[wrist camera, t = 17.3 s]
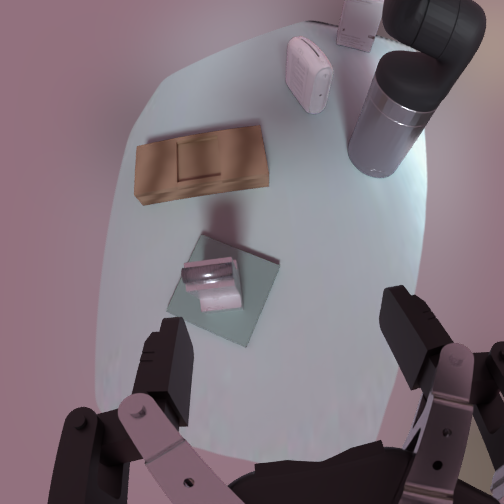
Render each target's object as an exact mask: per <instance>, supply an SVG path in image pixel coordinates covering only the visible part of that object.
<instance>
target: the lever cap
mask: <svg viewBox="0 0 504 504" xmlns="http://www.w3.org/2000/svg"><path fill="white" fill-rule="evenodd" d="M181 274H182V280H183V283H184V284H186V292H188V293H190V294H191V295H193V296H195V297H196V298H198V299H200V305H201V312H203V313H205V314H214V313H223V312H231V311H240V310H244V307H243V299H242V291H241V283H240V274H239V266H238V264H237V261H236V260H233V259H232V257H226V258H218V259H211V260H203V261H195V262H188V263H184V268H182V271H181Z"/></svg>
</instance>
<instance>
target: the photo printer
mask: <svg viewBox="0 0 504 504" xmlns="http://www.w3.org/2000/svg"><path fill="white" fill-rule="evenodd" d="M333 73H334V71H333V68H332V65H331V63H330V62H329V60H328V58H327V57H326V56H325V54H324V53H323V52H322V51H321V49H320V48H319V47H318V46H317V45H316V44H314V43H313V42H312V41H310V40H309V39H307V38H305V37H302V36H299V37H293V38H292V39H291V40H290V41H289V43H288V49H287V65H286V83H287V85H288V87H289V89H290V90H291V91H292V93H293V94H294V96H295V97H296V99H297V100H298V101H299V103H300V104H301V106H302V107H303V108H304V109H305V111H306V112H308V113H311V114H318V113H320V112H322V110H323V109H325V107H326V103H327V99H328V95H329V91H330V86H331V82H332V78H333Z"/></svg>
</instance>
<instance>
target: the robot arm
mask: <svg viewBox="0 0 504 504" xmlns="http://www.w3.org/2000/svg"><path fill="white" fill-rule="evenodd" d="M382 20H383V25H384V28H385V30H386V32H387V33H388V34H389V35H390V36H391V37H393V38H394V39H396V40H398V41H399V42H401V43H403V44H405V45H407V46H410V47H412V48H414V49H416V50H418V51H420V52H411V51H391V52H388V53H386V54H385V55H383V56H382V58H381V59H380V61H379V63H378V66H377V69H376V72H375V75H374V78H373V80H372V83H371V86H370V89H369V92H368V95H367V97H366V100H365V103H364V106H363V108H362V111H361V114H360V116H359V119H358V122H357V124H356V127H355V129H354V132H353V134H352V137H351V140H350V142H349V145H348V154H349V157H350V159H351V161H352V163H353V164H354V165H355V166H356V168H357V169H359V170H360V171H361V172H363V173H364V174H366V175H368V176H371V177H376V178H384V177H388V176H390V175H391V174H393V173H394V172H395V171H396V169H397V168H398V166H399V165H400V163H401V162H402V160H403V159H404V158H405V156H406V155H407V153H408V152H409V150H410V149H411V147H412V146H413V144H414V143H415V141H416V140H417V138H418V137H419V135H420V134H421V132H422V131H423V129H424V128H425V126H426V125H427V123H428V121H429V120H430V118H431V117H432V115H433V113H434V112H435V110H436V109H437V107H438V106H439V104H440V103H441V101H442V100H443V99H444V98H445V97H446V96H447V94H448V93H449V91H450V90H451V88H452V86H453V85H454V83H455V82H456V81H457V79H458V78H459V76H460V75H461V74H462V72H463V71H464V69H465V68H466V67H467V65H468V64H469V63H470V61H471V60H472V58H473V56H474V55H475V53H476V52H477V50H478V48H479V46H480V44H481V42H482V39H483V37H484V33H485V29H486V16H485V13H484V11H483V9H482V8H481V7H480V6H479V5H478V4H477V3H476V2H474V1H472V0H384V4H383V11H382ZM379 324H380V328H381V331H382V333H383V335H384V337H385V339H386V341H387V343H388V345H389V347H390V349H391V351H392V353H393V355H394V357H395V359H396V361H397V363H398V365H399V367H400V369H401V371H402V373H403V375H404V377H405V379H406V381H407V383H408V385H409V387H410V389H411V390H414V389H417V388H421V390H422V392H423V393H422V395H421V397H420V401H419V404H418V407H417V410H416V414H415V417H414V420H413V423H412V426H411V429H410V432H409V434H408V437H407V439H406V441H405V443H404V445H403V447H402V449H401V448H395V447H383V444H382V441H381V440H379V441H375V442H372V443H368V444H364V445H361V446H357V447H353V448H350V449H348V450H346V451H344V452H342V453H340V454H338V455H336V456H334V457H331V458H329V459H327V460H325V461H321V462H309V461H292V460H284V461H276V462H268V463H259V464H255V471H253V472H250V473H248V474H246V475H243V476H241V477H240V478H238V479H236V480H235V481H233V482H232V483H230V484H229V485H228V486H227V485H226V484H224V482H223V481H222V480H221V479H220V478H219V477H218V476H217V475H216V474H215V473H214V472H213V471H212V469H211V468H210V467H209V466H208V465H207V464H206V463H205V462H204V461H203V459H201V457H200V456H199V455H198V454H197V452H195V450H194V449H193V448H192V447H191V445H190V444H189V443H188V442H187V441H186V440H185V439H184V438H183V437H182V436H181V435H180V433H179V427H184V426H188V419H189V406H190V394H191V383H192V372H193V361H194V352H193V346H192V342H191V339H190V336H189V334H188V331H187V328H186V325H185V322H184V319H183V317H173V318H164V319H163V320H162V323H161V327H160V332H152V333H151V334H150V336H149V337H148V338H147V340H146V341H145V343H144V347H143V351H142V355H141V359H140V363H139V366H138V370H137V375H136V379H135V383H134V387H133V391H132V395H130V396H128V397H126V398H125V399H124V400H123V401H122V402H121V404H120V405H119V408H118V409H115V410H112V411H108V412H104V413H100V414H96V413H95V412H94V411H93V410H92V409H90V408H87V407H80V408H77V409H74V410H73V411H71V412H70V413H69V415H68V416H67V418H66V419H65V423H64V426H63V430H62V434H61V439H60V442H59V447H58V451H57V455H56V461H55V465H54V470H53V475H52V480H51V486H50V492H49V498H48V504H127V494H128V480H129V467H130V462H131V461H136V460H139V459H144V460H145V465H146V467H147V469H148V470H149V472H150V473H151V474H152V476H153V477H154V479H155V480H156V482H157V483H158V485H159V486H160V487H161V489H162V490H163V491H164V493H165V494H166V495H167V497H168V498H169V499H170V501H171V502H172V503H173V504H504V402H503V400H502V398H501V396H500V394H499V392H500V391H501V393H502V395H503V397H504V342H497V343H495V344H494V345H493V346H492V348H491V350H490V352H482V353H472V352H471V350H470V349H469V348H468V347H466V346H464V345H462V344H459V343H454V342H453V341H452V339H451V338H450V336H449V335H448V333H447V332H446V331H445V329H444V328H443V326H442V325H441V323H440V322H439V321H438V319H436V317H435V315H434V314H433V312H431V309H430V308H429V307H428V305H427V304H426V302H424V301H423V300H422V299H420V298H419V297H418V296H416V295H412V296H411V295H410V294H409V292H408V291H407V289H406V288H405V287H404V286H403V285H399V286H394V287H388V288H385V289H384V292H383V298H382V304H381V310H380V315H379ZM472 414H473V417H474V419H475V421H476V423H477V426H478V428H479V431H480V433H481V435H482V438H483V440H484V443H485V445H486V448H487V450H488V453H489V456H490V458H491V461H492V464H493V466H494V469H495V474H494V476H493V480H492V485H491V488H490V490H491V493H492V494H493V496H491V495H489V494H487V493H485V492H483V491H481V490H479V489H477V488H475V487H473V486H471V485H469V484H467V483H466V482H464V481H462V480H460V479H458V476H459V472H460V468H461V465H462V461H463V457H464V453H465V449H466V444H467V440H468V435H469V430H470V425H471V419H472Z"/></svg>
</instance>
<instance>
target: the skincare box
mask: <svg viewBox="0 0 504 504" xmlns="http://www.w3.org/2000/svg"><path fill="white" fill-rule="evenodd" d="M383 4H384V0H344V5H343V9H342V14H341V18H340V23H339V27H338V31H337V45H342V46H347V47H351V48H355V49H359V50H362V51H365V52H370V50H371V47H372V44H373V42H374V39H375V36H376V33H377V30H378V27H379V23H380V20H381V18H382V11H383Z"/></svg>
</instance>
